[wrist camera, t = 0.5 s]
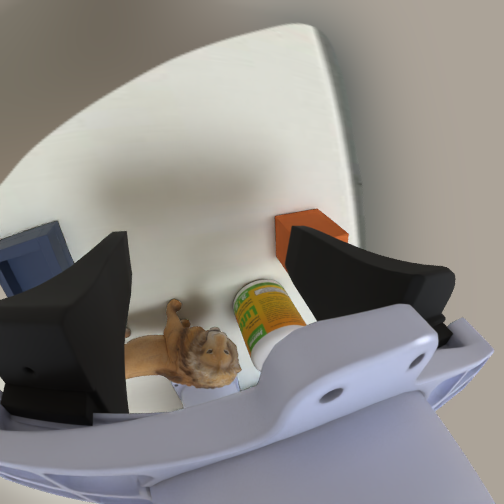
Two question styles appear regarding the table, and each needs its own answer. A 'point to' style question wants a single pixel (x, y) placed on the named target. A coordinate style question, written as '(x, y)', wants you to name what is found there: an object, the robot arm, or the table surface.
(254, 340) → the supplement bottle
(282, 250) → the orange rectangular block
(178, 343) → the lion figurine
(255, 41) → the table surface
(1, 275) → the blue square tray
